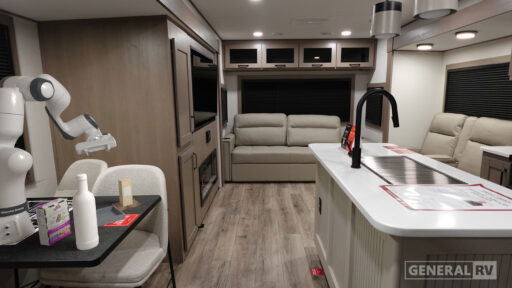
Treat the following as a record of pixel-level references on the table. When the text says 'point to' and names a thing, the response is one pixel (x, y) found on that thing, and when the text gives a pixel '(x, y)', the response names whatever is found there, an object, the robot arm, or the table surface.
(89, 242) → the bottle
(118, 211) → the parts bin
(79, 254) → the table surface
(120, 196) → the parts box
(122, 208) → the walnut board
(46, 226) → the candy bar box
